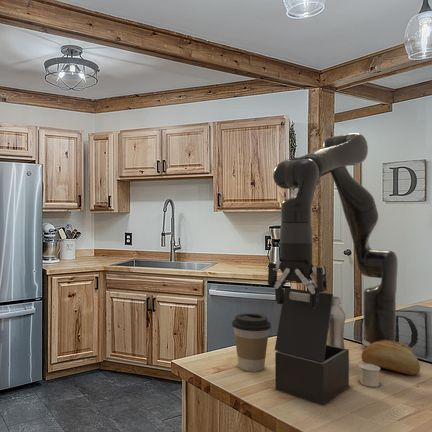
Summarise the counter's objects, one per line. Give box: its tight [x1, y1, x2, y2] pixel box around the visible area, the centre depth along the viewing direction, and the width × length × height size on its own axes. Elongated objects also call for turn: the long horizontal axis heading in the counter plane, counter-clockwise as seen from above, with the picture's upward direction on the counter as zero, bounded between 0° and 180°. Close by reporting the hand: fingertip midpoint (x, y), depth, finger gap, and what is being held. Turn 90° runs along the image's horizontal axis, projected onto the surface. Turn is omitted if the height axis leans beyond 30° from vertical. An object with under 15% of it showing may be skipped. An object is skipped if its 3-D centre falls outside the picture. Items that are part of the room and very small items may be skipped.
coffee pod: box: [358, 363, 381, 388], centre depth 115 cm, size 5×5×4 cm
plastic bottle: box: [326, 295, 346, 349], centre depth 131 cm, size 6×7×20 cm
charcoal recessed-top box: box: [274, 345, 350, 406], centre depth 113 cm, size 16×13×10 cm
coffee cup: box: [231, 312, 272, 373], centre depth 128 cm, size 11×11×15 cm
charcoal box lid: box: [274, 287, 334, 363], centre depth 108 cm, size 16×13×5 cm
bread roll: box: [361, 340, 421, 376], centre depth 125 cm, size 10×15×8 cm, turn 51°
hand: (296, 306), depth 106 cm, fingers open, 8 cm apart
